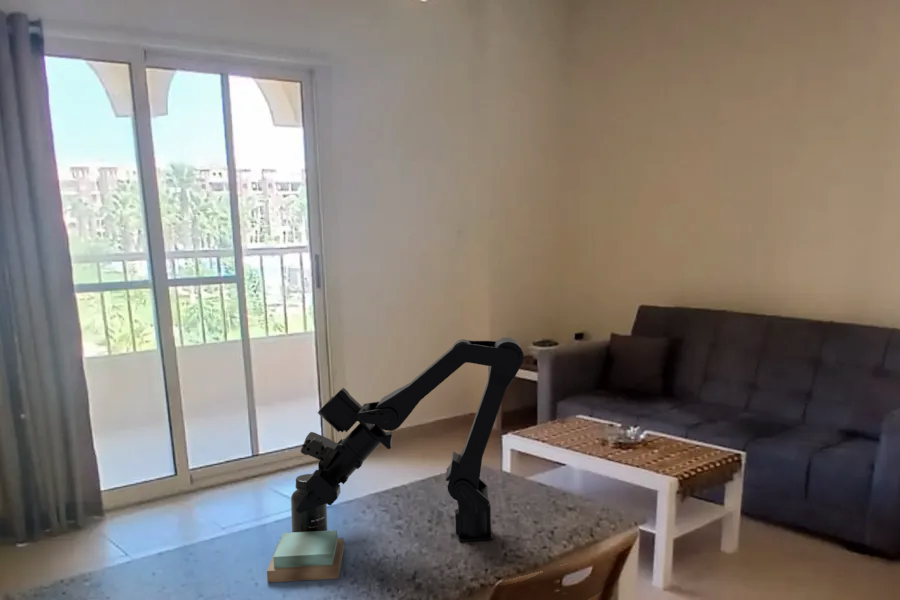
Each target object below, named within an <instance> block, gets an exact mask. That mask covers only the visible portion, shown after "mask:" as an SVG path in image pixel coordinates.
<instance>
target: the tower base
mask: <svg viewBox="0 0 900 600" xmlns="http://www.w3.org/2000/svg"><path fill="white" fill-rule="evenodd" d="M344 541H345V540H344V537H338V529H336V530H334V529H333V530H327V531H312V532H293V533H292V532H282V534H281V537H280V539H279V541H278V542H277V545H276V548H275V550H274V552H273V554H272V558H271V559H270V562H269V565H268V567H267V570H266V578H267V579H266V581H267V582H266V583H280V582H281V583H282V582H283V583H284V582H295V581H296V582H299V581H314V580H315V581H317V580H333V579H334V580H335V579H336V580H337V579H339V578H340V572H341V567H342V561H343V555H344V550H345V543H344Z"/></svg>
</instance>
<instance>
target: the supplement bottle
mask: <svg viewBox="0 0 900 600" xmlns="http://www.w3.org/2000/svg"><path fill="white" fill-rule="evenodd" d="M312 474H313V473H306V474H301V475H299V476H297V477H296V478H295V489H296V490H295V491H293V493H292V494H291V497H290V505H291V506H290V509H291V510H290V511H291V512H290V513H291V533H293V532H312V531H328V505H327V504H323V505H321V506H318V507H315V508H312V509H310V510H307V511H305V512H302V513H298V512H297V511H296V508H297V507H298V505H299V504H300V502H301V500H302V499H303V497H304V496H305V494H306V493H307V491H308V486H307V484H306V482H307V480H308V478H309V477H310V476H311V475H312Z"/></svg>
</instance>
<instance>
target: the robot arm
mask: <svg viewBox="0 0 900 600" xmlns="http://www.w3.org/2000/svg"><path fill="white" fill-rule="evenodd" d="M524 358H525V355H524V352H523V349H522V347H521V345H520V344H519V342H518V341H517V340H515V338H512V337H507V336H506V337H502V338H500V339H498V340H496V341H495V340H468V339H464V338H463V339H459V340H457V341H456V342H454V344H453V345H452V346H451V347H450V348H449V349H448V350H446V352H444V353H443V354H442V355H441V356H440V357H438V358H437V359H436V360H435V361H434V362H433V363H431V364H430V365H429V366H428V367H427V368H425V370H423V371H421V373H420V374H418V376H416V377H415V378H413V380H411V382H409V383H407V384H405V385H403V386H402V387H399V388H397V389H395V390H393V391H392V392H390V393H389V394H387V395H385V396H383V397H382V398H381V399H380V400H379V401H372V402H367V403H363V404H360V403H359V402H358V401H357V400H356V399H355V398H354V397H353V396H352V395H351V394H350V393H349V391H348V390H347V389H346V388H344V387H341V389H340V390H338V392H337V393H336V394H334V396H333V395H332V397H330V398H329V400H328V401H326V403H325V404H324V405H323V406H322V407H321V408H320V409H318V411H317V415H319V416H320V417H321V418H322V419H323V420H324V421H326V422H327V423H328V424H329V425H330V426H331V427H332V428H333V429H334V430H335V431H336V432H337V433H339V432H341V433H343V432H345V433H348V431H349V430H351V428H353V426H354V425H355V424H356V423H357V422H358V424H357V425H356V426H355V427H354V428H353V429H352V431H351V432H350V433H349V434H347V436H346V437H345V438H343V439H342V438H341V439H339V440H338V441H337V442H335V441H334V440H332V439H330V438H328V437H326V436H324V435H321V434H320V433H319V434H318V433H316V432H313V431H310V432H309V433H308V434H307V435H306V436H305V440H304V442H303V444H302V447H301V448H300V453H301V454H303V455H305V456H309V457H312V458H315V459H317V460H319V461H318V464H317V465H318V469H316V470H314V471H313V472H312V473H311V474H312V475H311V476H310V477H309V478H308V480H307V482H306V484H307V486H308V491H307V493H306V494H305V496H304V497H303V499H302V500H301V502H300V504H299V505H298V507H297V508H296V511H297V512H298V513H302V512H305V511H307V510H310V509H312V508H315V507H318V506H321V505H323V504H327V506H330V507H331V505H333V504H334V503H335V502H336V501H337V500H338V498H339V495H340V494H341V485H340V484H343V485H345V483H346V482H347V481H348V480H349V477H350V476H351V475H352V474H353V473H354V472H355V471H356V470H359V469H360V468H361V467H362V466H363V463H364V462H365V461H366V459H368V458H369V457H370V456H371V454H372V453H374V452H375V450H377V449H378V447H379V446H380V445H383V446H384V447H385V448H386V449H387V450H391V449H392V446H393V443H394V442H393V435H394V433H393V431H396V430H397V429H399V428H400V427H401V425H403V423H404V422H405V421H406V420H407V419H408V417H409V416H410V415H411V413H412V412H414V410H415V408H416V407H417V406H418V404H419V403H420V402H421V401H422V400H423V399H424V398H425V397H426V396H428V394H430V393H431V392H433V390H435V389H436V388H437V387H439V386H440V385H441V384H442V383H443V382H444V381H446V380H447V378H449V377H450V376H452V374H454V373H455V372H456V371H457V370H459V368H461V367H462V366H463V365H464V364H467V363H469V364H475V365H482V366H486V367H489V369H488V374H487V382H486V385H485V388H484V391H483V392H482V396H481V399H480V402H479V405H478V408H477V410H476V414H475V416H474V419H473V423H472V425H471V427H470V430H469V433H468V437H467V439H466V442H465V445H464V447H463V448H462V450H461V452H460V453H457V452H455V451H453V452H452V457H451V462H450V464H449V465H448V467H447V468H446V473H445V481H446V482H447V492H448V494H449V496H450V497H451V498H452V499H453V500H455V501H456V508H455V509H454V513H453V515H454V533H455V535H456V536H457V538H458V541H459V542H474V541H475V542H476V541H489V540H490V541H492V540H494V539H493V538H494V536H493V533H492V510H491V509H492V508H491V506H492V505H491V503H490V496H489V486H488V484H486V483H485V482H484V481H483V480H482V479H481V478H480V477H481V470H482V464H483V463H482V462H483V461H482V460H483V457H484V454H485V451H486V448H487V444H488V442H489V439H490V436H491V433H492V430H493V428H494V425H495V422H496V419H497V416H498V414H499V410H500V408H501V405H502V402H503V399H504V398H505V397H504V396H505V394H506V391H507V389H508V387H509V386H510V385H511V383H512V382H513V380H514V379H515V378H516V376H517V374H518V372H519V370H520V368H521V367H522V365H523V363H524Z"/></svg>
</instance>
